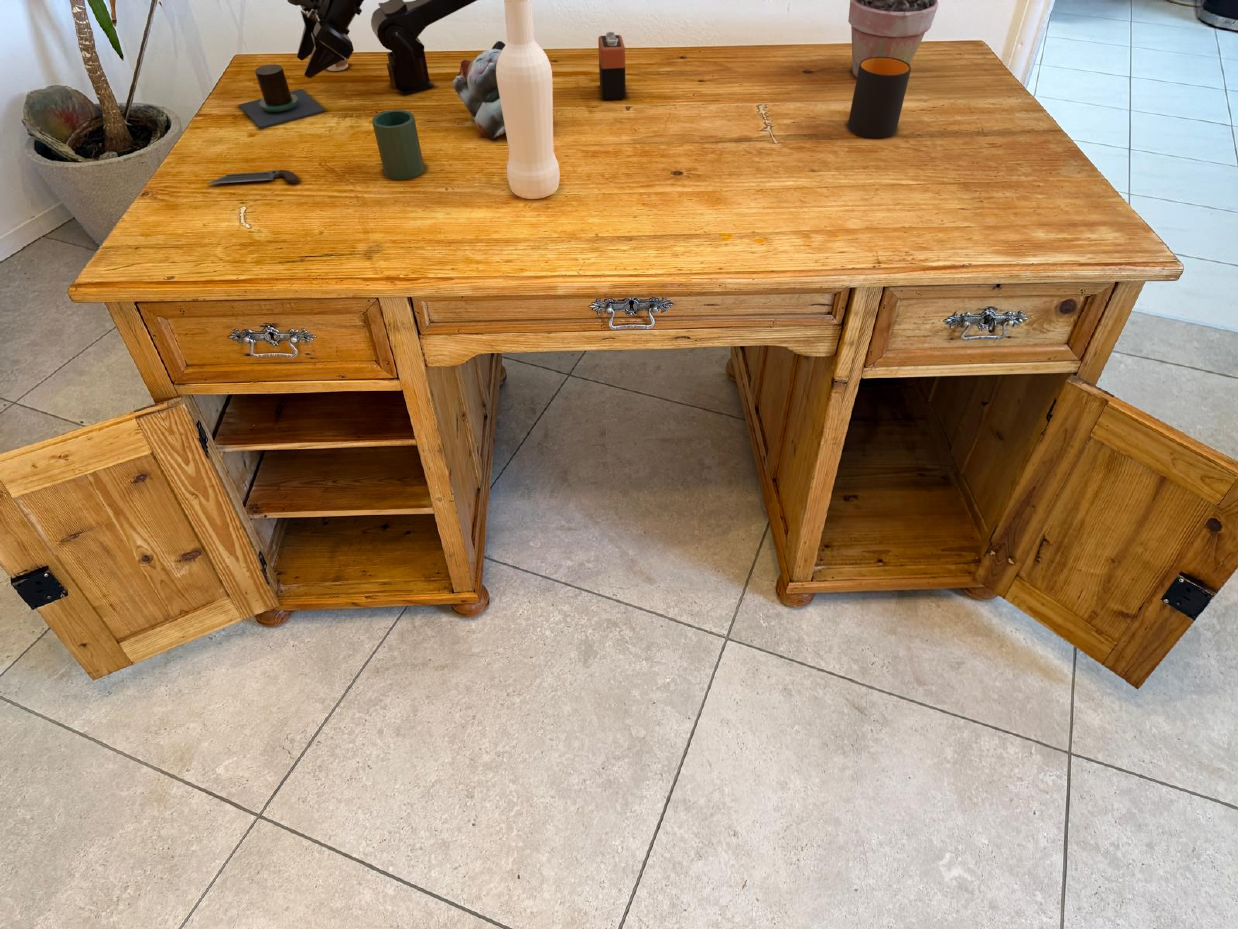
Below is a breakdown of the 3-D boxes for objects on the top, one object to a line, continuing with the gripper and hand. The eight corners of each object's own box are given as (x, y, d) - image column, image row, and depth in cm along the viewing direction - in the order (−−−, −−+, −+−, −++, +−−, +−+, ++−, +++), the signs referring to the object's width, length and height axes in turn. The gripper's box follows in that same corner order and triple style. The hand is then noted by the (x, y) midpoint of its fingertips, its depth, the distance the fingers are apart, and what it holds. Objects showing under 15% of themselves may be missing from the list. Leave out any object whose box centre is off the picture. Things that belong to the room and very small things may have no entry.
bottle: (509, 177, 129) (484, -36, 108) (559, 174, 130) (545, -38, 108) (508, 202, 124) (482, -17, 102) (561, 199, 124) (546, -20, 103)
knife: (301, 171, 131) (300, 167, 131) (297, 183, 129) (296, 179, 128) (213, 177, 130) (211, 173, 130) (207, 189, 128) (205, 185, 127)
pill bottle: (343, 72, 161) (332, 30, 155) (322, 70, 161) (311, 29, 156) (352, 64, 164) (342, 22, 158) (332, 62, 164) (321, 21, 159)
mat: (301, 90, 155) (301, 88, 154) (324, 111, 148) (324, 109, 148) (239, 106, 150) (238, 104, 150) (260, 128, 143) (259, 126, 143)
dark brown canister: (307, 105, 149) (296, 67, 144) (275, 118, 145) (263, 79, 140) (285, 96, 152) (273, 59, 147) (254, 108, 148) (241, 70, 143)
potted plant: (837, 49, 166) (862, -96, 147) (934, 64, 159) (972, -85, 141) (810, 81, 154) (834, -72, 136) (913, 98, 148) (952, -59, 130)
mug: (874, 107, 146) (887, 46, 138) (904, 135, 138) (920, 72, 130) (831, 112, 145) (842, 50, 137) (859, 140, 137) (872, 77, 129)
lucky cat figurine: (478, 146, 137) (440, 61, 131) (480, 144, 148) (445, 66, 142) (559, 110, 136) (524, 23, 131) (555, 111, 147) (522, 31, 142)
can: (413, 157, 135) (403, 106, 129) (430, 172, 131) (420, 120, 125) (378, 168, 132) (365, 116, 126) (394, 183, 129) (382, 130, 122)
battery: (602, 100, 150) (600, 43, 142) (599, 86, 154) (597, 29, 147) (625, 99, 150) (625, 42, 143) (622, 85, 154) (621, 28, 147)
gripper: (296, -57, 141) (253, 22, 146) (313, -28, 129) (265, 57, 134) (353, -13, 149) (310, 60, 154) (374, 18, 137) (327, 96, 142)
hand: (303, 67), depth 146 cm, fingers open, 9 cm apart
